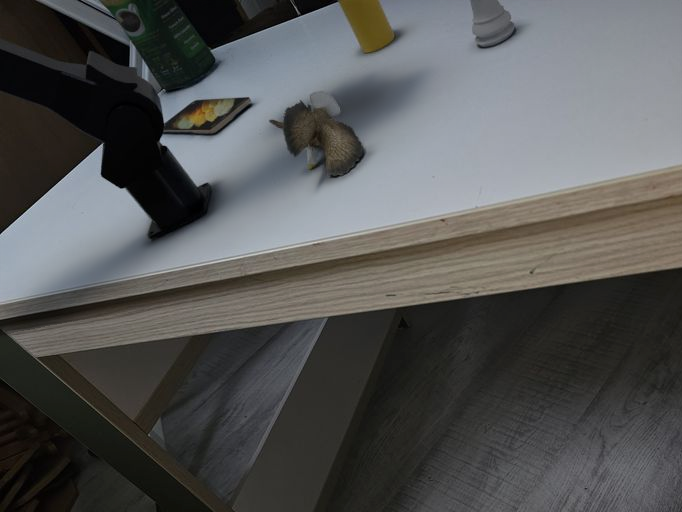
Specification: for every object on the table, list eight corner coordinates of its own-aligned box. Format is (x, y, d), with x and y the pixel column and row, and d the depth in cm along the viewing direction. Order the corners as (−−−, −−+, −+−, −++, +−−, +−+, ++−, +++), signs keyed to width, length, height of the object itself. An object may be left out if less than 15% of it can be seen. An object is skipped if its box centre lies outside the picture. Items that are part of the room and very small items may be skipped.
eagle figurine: (269, 163, 69) (281, 176, 61) (268, 86, 66) (280, 90, 59) (346, 166, 72) (366, 178, 64) (347, 92, 69) (368, 96, 61)
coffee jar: (226, 59, 109) (148, -66, 97) (197, 86, 104) (111, -42, 92) (186, 70, 114) (107, -47, 102) (157, 96, 109) (70, -24, 97)
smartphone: (194, 99, 97) (251, 96, 87) (197, 104, 98) (254, 101, 88) (156, 129, 94) (210, 129, 84) (159, 133, 95) (214, 134, 85)
